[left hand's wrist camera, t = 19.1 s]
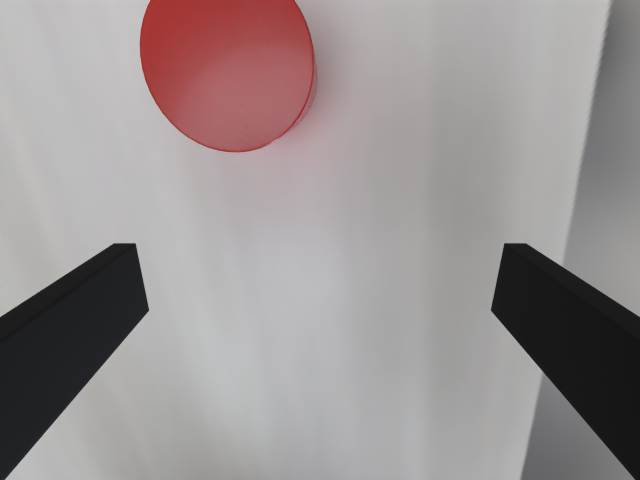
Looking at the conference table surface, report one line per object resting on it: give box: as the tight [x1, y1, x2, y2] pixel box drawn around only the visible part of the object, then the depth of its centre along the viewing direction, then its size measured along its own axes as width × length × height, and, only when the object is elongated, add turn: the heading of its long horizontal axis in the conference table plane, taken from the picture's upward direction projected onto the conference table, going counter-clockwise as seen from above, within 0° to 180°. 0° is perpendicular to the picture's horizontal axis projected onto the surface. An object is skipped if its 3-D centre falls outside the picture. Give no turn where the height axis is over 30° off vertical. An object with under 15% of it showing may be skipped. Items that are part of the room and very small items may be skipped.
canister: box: [140, 0, 317, 152], centre depth 18 cm, size 7×7×8 cm
